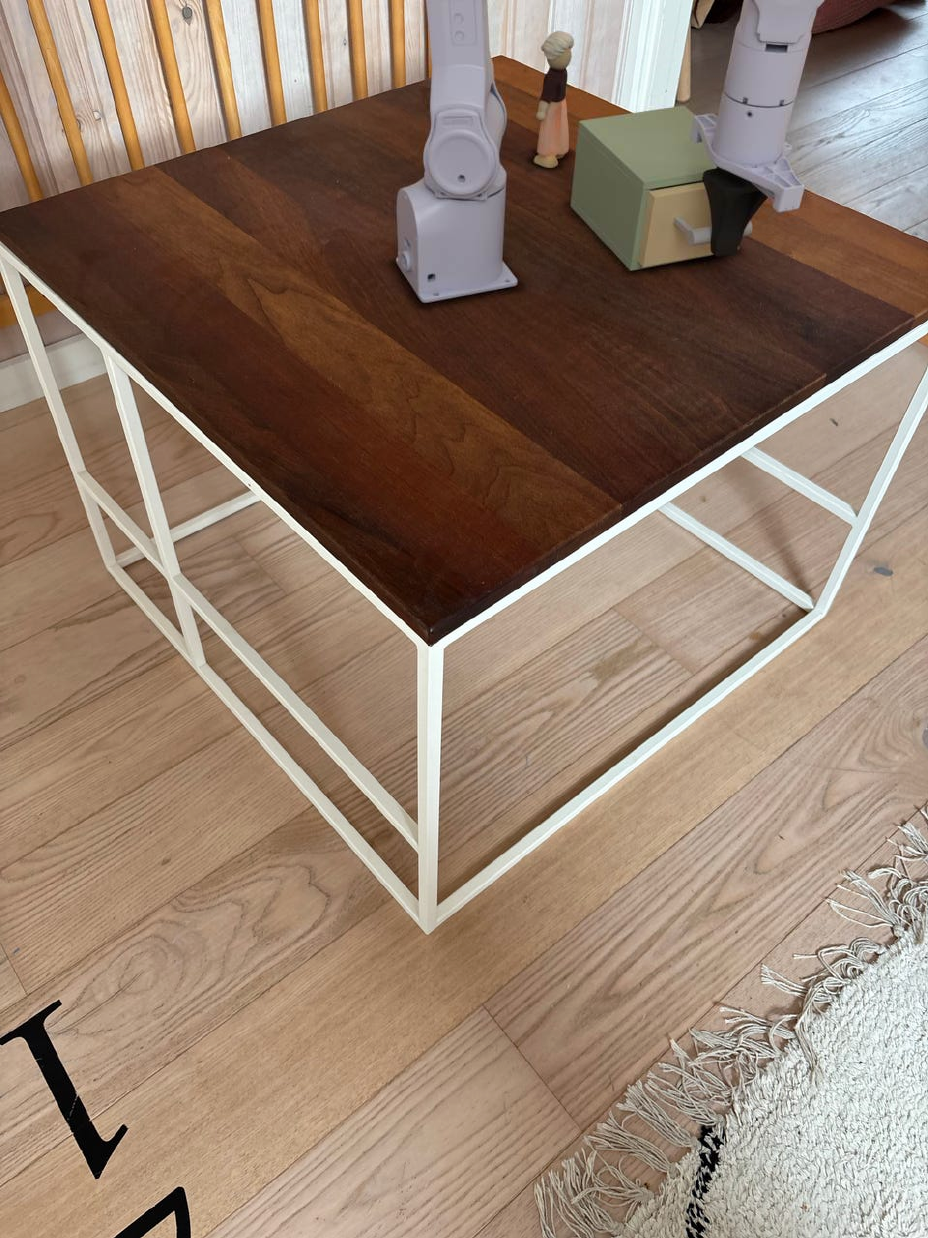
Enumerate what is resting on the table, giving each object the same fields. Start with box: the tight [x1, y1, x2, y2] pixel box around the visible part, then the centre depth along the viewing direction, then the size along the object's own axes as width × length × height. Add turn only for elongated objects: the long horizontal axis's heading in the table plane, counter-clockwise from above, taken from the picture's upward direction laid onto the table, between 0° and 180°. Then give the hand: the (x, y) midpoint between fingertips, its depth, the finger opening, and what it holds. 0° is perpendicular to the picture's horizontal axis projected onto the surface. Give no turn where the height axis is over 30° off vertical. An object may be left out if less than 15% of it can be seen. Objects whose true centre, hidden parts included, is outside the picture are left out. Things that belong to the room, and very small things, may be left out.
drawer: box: [638, 181, 753, 268], centre depth 95 cm, size 17×10×7 cm, turn 21°
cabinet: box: [570, 105, 717, 272], centre depth 97 cm, size 14×12×9 cm
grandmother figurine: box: [533, 30, 575, 169], centre depth 106 cm, size 8×4×13 cm, turn 168°
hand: (723, 252), depth 90 cm, fingers closed, pressing on drawer
